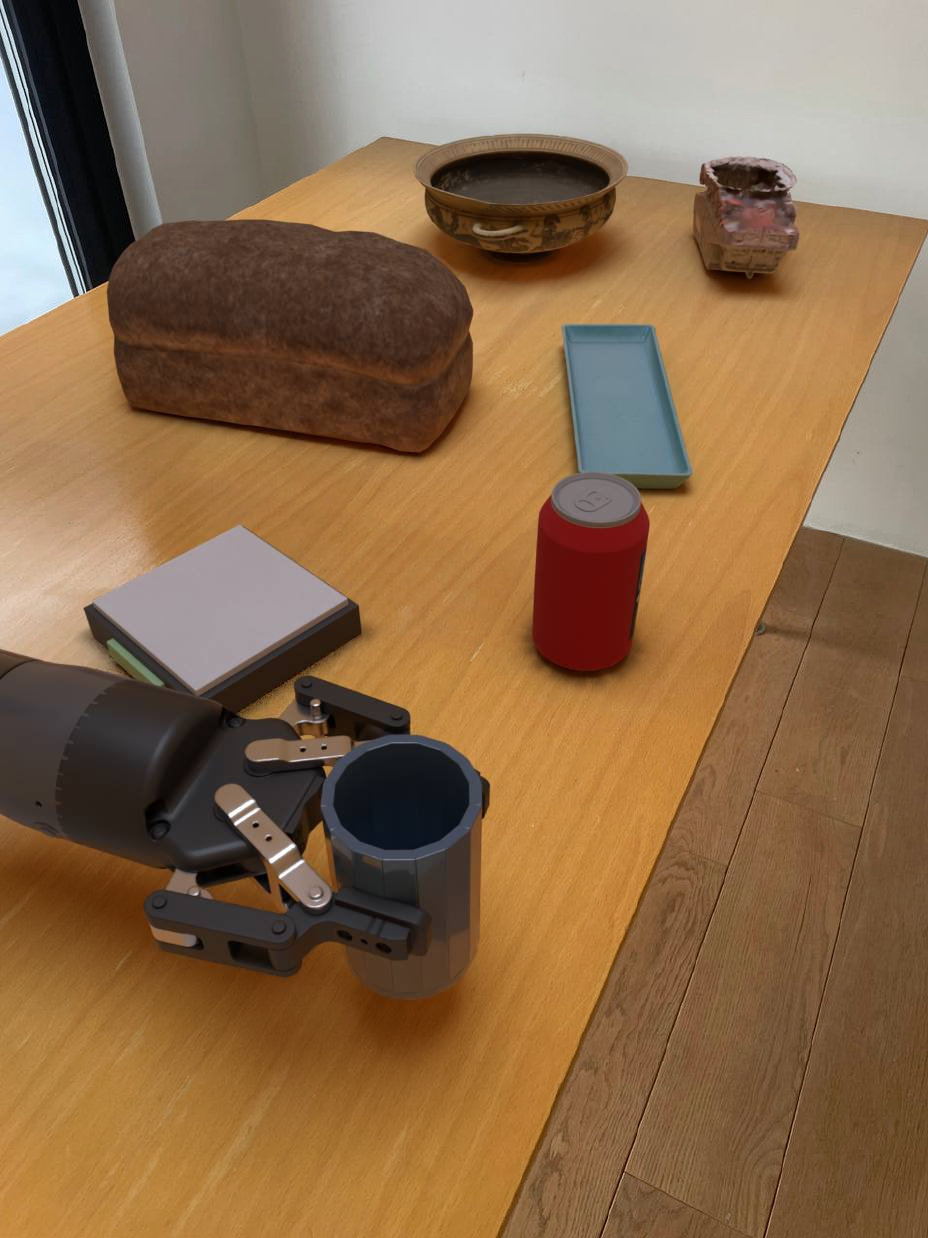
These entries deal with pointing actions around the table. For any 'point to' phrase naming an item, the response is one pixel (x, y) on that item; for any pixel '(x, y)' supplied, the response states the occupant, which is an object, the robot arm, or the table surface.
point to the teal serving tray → (623, 405)
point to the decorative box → (745, 214)
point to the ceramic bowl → (520, 192)
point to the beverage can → (589, 570)
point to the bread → (292, 330)
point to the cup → (409, 852)
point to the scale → (223, 620)
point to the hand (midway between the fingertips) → (459, 863)
